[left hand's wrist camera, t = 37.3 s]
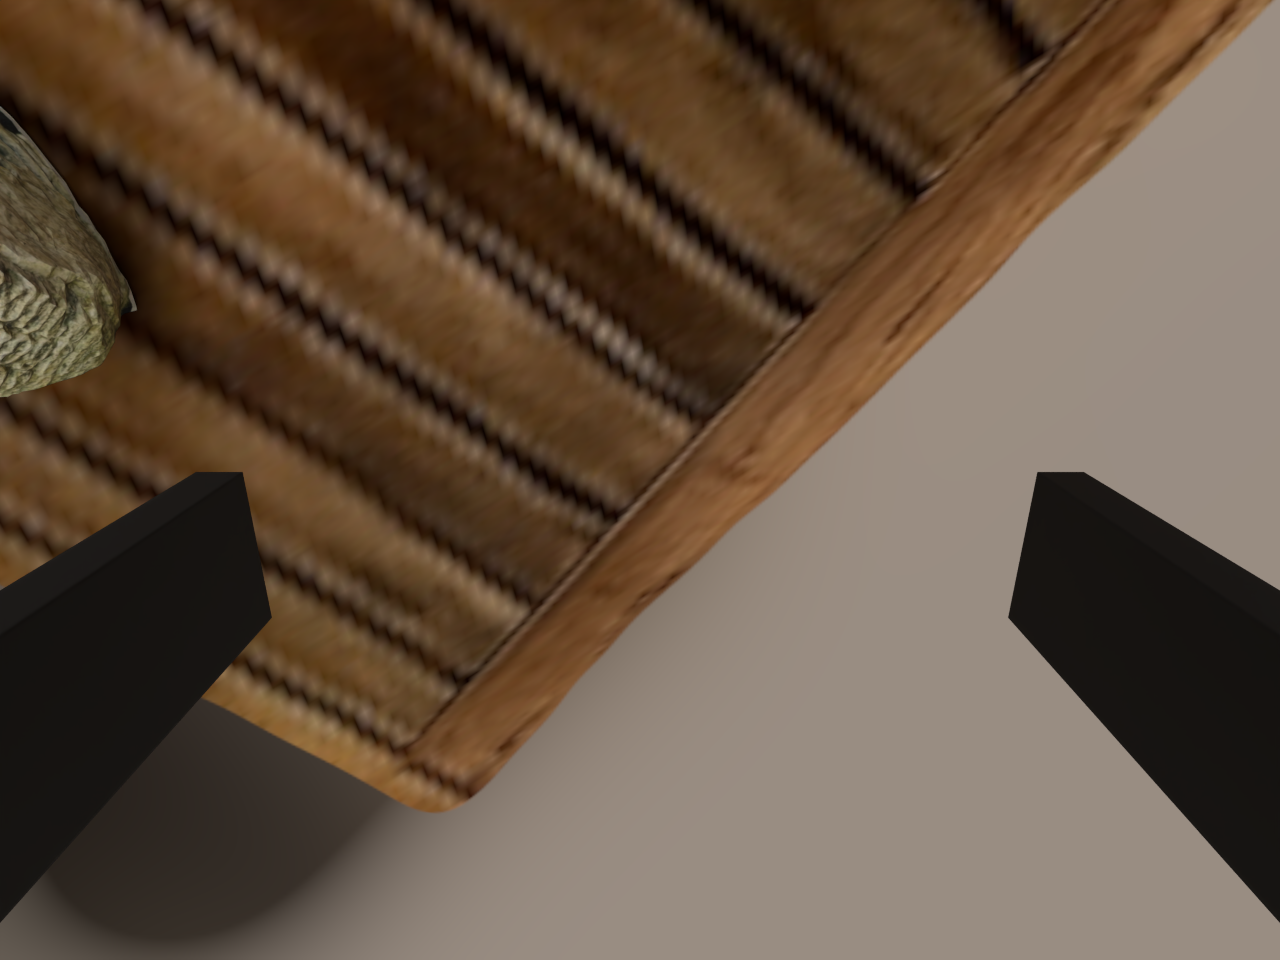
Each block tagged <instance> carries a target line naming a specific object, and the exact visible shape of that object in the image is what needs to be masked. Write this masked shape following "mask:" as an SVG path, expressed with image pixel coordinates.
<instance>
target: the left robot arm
mask: <svg viewBox="0 0 1280 960" xmlns="http://www.w3.org/2000/svg"><path fill="white" fill-rule="evenodd" d="M271 618H272V616H271V611H270V606H269V601H268V596H267V591H266V586H265V581H264V577H263V572H262V567H261V562H260V557H259V552H258V547H257V542H256V537H255V532H254V527H253V522H252V517H251V512H250V507H249V502H248V497H247V492H246V487H245V482H244V477H243V472H196V473H194V474H192V475H191V476H189V477H187V478H186V479H184V480H182V481H181V482H179V483H177V484H176V485H174V486H172V487H171V488H169V489H167V490H166V491H164V492H162V493H161V494H159V495H157V496H156V497H154V498H152V499H151V500H149V501H148V502H146V503H144V504H143V505H141V506H139V507H138V508H136V509H134V510H133V511H131V512H129V513H128V514H126V515H124V516H123V517H121V518H119V519H118V520H116V521H114V522H113V523H111V524H109V525H108V526H106V527H104V528H103V529H101V530H100V531H98V532H96V533H95V534H93V535H91V536H90V537H88V538H86V539H85V540H83V541H81V542H80V543H78V544H76V545H75V546H73V547H71V548H70V549H68V550H66V551H65V552H63V553H61V554H60V555H58V556H56V557H55V558H53V559H52V560H50V561H48V562H47V563H45V564H43V565H42V566H40V567H38V568H37V569H35V570H33V571H32V572H30V573H28V574H27V575H25V576H23V577H22V578H20V579H18V580H17V581H15V582H13V583H12V584H10V585H8V586H7V587H5V588H4V589H2V590H0V922H1V921H2V920H3V919H4V918H5V917H6V915H7V914H8V913H9V912H10V911H11V910H12V909H13V908H14V906H15V905H16V904H17V903H18V902H19V901H20V900H21V899H22V898H23V896H24V895H25V894H26V893H27V892H28V891H29V890H30V889H31V887H32V886H33V885H34V884H35V883H36V882H37V881H38V879H39V878H40V877H41V876H42V875H43V874H44V873H45V872H46V871H47V869H48V868H49V867H50V866H51V865H52V864H53V863H54V862H55V861H56V859H57V858H58V857H59V856H60V855H61V854H62V853H63V852H64V850H65V849H66V848H67V847H68V846H69V845H70V844H71V842H72V841H73V840H74V839H75V838H76V837H77V836H78V835H79V834H80V832H81V831H82V830H83V829H84V828H85V827H86V826H87V825H88V823H89V822H90V821H91V820H92V819H93V818H94V817H95V816H96V814H97V813H98V812H99V811H100V810H101V809H102V808H103V807H104V805H105V804H106V803H107V802H108V801H109V800H110V799H111V798H112V796H113V795H114V794H115V793H116V792H117V791H118V790H119V789H120V787H121V786H122V785H123V784H124V783H125V782H126V781H127V780H128V779H129V777H130V776H131V775H132V774H133V773H134V772H135V771H136V770H137V768H138V767H139V766H140V765H141V764H142V763H143V762H144V761H145V759H146V758H147V757H148V756H149V755H150V754H151V753H152V752H153V750H154V749H155V748H156V747H157V746H158V745H159V744H160V743H161V741H162V740H163V739H164V738H165V737H166V736H167V735H168V734H169V732H170V731H171V730H172V729H173V728H174V727H175V726H176V725H177V723H178V722H179V721H180V720H181V719H182V718H183V717H184V716H185V714H186V713H187V712H188V711H189V710H190V709H191V708H192V707H193V706H194V704H195V703H196V702H197V701H198V700H199V699H200V698H201V697H202V695H203V694H204V693H205V692H206V691H207V690H208V689H209V688H210V686H211V685H212V684H213V683H214V682H215V681H216V680H217V679H218V677H219V676H220V675H221V674H222V673H223V672H224V671H225V670H226V668H227V667H228V666H229V665H230V664H231V663H232V662H233V661H234V659H235V658H236V657H237V656H238V655H239V654H240V653H241V652H242V650H243V649H244V648H245V647H246V646H247V645H248V644H249V643H250V641H251V640H252V639H253V638H254V637H255V636H256V635H257V634H258V633H259V631H260V630H261V629H262V628H263V627H264V626H265V625H266V624H267V622H268V621H269V620H270V619H271ZM1008 618H1009V619H1010V620H1011V621H1012V622H1013V623H1014V625H1015V626H1016V627H1017V628H1018V629H1019V630H1020V631H1021V632H1022V634H1023V635H1024V636H1025V637H1026V638H1027V639H1028V640H1029V641H1030V643H1031V644H1032V645H1033V646H1034V647H1035V648H1036V649H1037V650H1038V652H1039V653H1040V654H1041V655H1042V656H1043V657H1044V658H1045V659H1046V661H1047V662H1048V663H1049V664H1050V665H1051V666H1052V667H1053V668H1054V670H1055V671H1056V672H1057V673H1058V674H1059V675H1060V676H1061V677H1062V679H1063V680H1064V681H1065V682H1066V683H1067V684H1068V685H1069V686H1070V688H1071V689H1072V690H1073V691H1074V692H1075V693H1076V694H1077V695H1078V696H1079V698H1080V699H1081V700H1082V701H1083V702H1084V703H1085V704H1086V706H1087V707H1088V708H1089V709H1090V710H1091V711H1092V712H1093V713H1094V714H1095V716H1096V717H1097V718H1098V719H1099V720H1100V721H1101V722H1102V723H1103V725H1104V726H1105V727H1106V728H1107V729H1108V730H1109V731H1110V732H1111V734H1112V735H1113V736H1114V737H1115V738H1116V739H1117V740H1118V741H1119V743H1120V744H1121V745H1122V746H1123V747H1124V748H1125V749H1126V750H1127V752H1128V753H1129V754H1130V755H1131V756H1132V757H1133V758H1134V759H1135V761H1136V762H1137V763H1138V764H1139V765H1140V766H1141V767H1142V768H1143V770H1144V771H1145V772H1146V773H1147V774H1148V775H1149V776H1150V777H1151V778H1152V780H1153V781H1154V782H1155V783H1156V784H1157V785H1158V786H1159V788H1160V789H1161V790H1162V791H1163V792H1164V793H1165V794H1166V795H1167V796H1168V798H1169V799H1170V800H1171V801H1172V802H1173V803H1174V804H1175V805H1176V807H1177V808H1178V809H1179V810H1180V811H1181V812H1182V813H1183V814H1184V816H1185V817H1186V818H1187V819H1188V820H1189V821H1190V822H1191V823H1192V825H1193V826H1194V827H1195V828H1196V829H1197V830H1198V831H1199V832H1200V834H1201V835H1202V836H1203V837H1204V838H1205V839H1206V840H1207V841H1208V843H1209V844H1210V845H1211V846H1212V847H1213V848H1214V849H1215V850H1216V852H1217V853H1218V854H1219V855H1220V856H1221V857H1222V858H1223V859H1224V861H1225V862H1226V863H1227V864H1228V865H1229V866H1230V867H1231V868H1232V869H1233V871H1234V872H1235V873H1236V874H1237V875H1238V876H1239V877H1240V878H1241V880H1242V881H1243V882H1244V883H1245V884H1246V885H1247V886H1248V887H1249V889H1250V890H1251V891H1252V892H1253V893H1254V894H1255V895H1256V896H1257V898H1258V899H1259V900H1260V901H1261V902H1262V903H1263V904H1264V905H1265V907H1266V908H1267V909H1268V910H1269V911H1270V912H1271V913H1272V914H1273V916H1274V917H1275V918H1276V919H1277V920H1278V921H1279V922H1280V590H1278V589H1276V588H1275V587H1273V586H1271V585H1270V584H1268V583H1267V582H1265V581H1263V580H1262V579H1260V578H1258V577H1257V576H1255V575H1253V574H1252V573H1250V572H1248V571H1247V570H1245V569H1243V568H1242V567H1240V566H1238V565H1237V564H1235V563H1233V562H1232V561H1230V560H1228V559H1227V558H1225V557H1223V556H1222V555H1220V554H1219V553H1217V552H1215V551H1214V550H1212V549H1210V548H1209V547H1207V546H1205V545H1204V544H1202V543H1200V542H1199V541H1197V540H1195V539H1194V538H1192V537H1190V536H1189V535H1187V534H1185V533H1184V532H1182V531H1180V530H1179V529H1177V528H1175V527H1174V526H1172V525H1171V524H1169V523H1167V522H1166V521H1164V520H1162V519H1161V518H1159V517H1157V516H1156V515H1154V514H1152V513H1151V512H1149V511H1147V510H1146V509H1144V508H1142V507H1141V506H1139V505H1137V504H1136V503H1134V502H1132V501H1131V500H1129V499H1127V498H1126V497H1124V496H1123V495H1121V494H1119V493H1117V492H1116V491H1114V490H1113V489H1111V488H1109V487H1108V486H1106V485H1104V484H1103V483H1101V482H1099V481H1098V480H1096V479H1094V478H1093V477H1091V476H1089V475H1088V474H1086V473H1084V472H1038V473H1037V477H1036V482H1035V487H1034V492H1033V497H1032V502H1031V507H1030V512H1029V517H1028V522H1027V527H1026V532H1025V537H1024V542H1023V547H1022V552H1021V557H1020V562H1019V567H1018V572H1017V577H1016V581H1015V587H1014V591H1013V596H1012V601H1011V606H1010V612H1009V616H1008Z"/></svg>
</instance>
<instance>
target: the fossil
mask: <svg viewBox="0 0 1280 960" xmlns="http://www.w3.org/2000/svg"><path fill="white" fill-rule="evenodd" d="M136 310H137V309H136V304H135V301H134V298H133V295H132V292H131V290H130V287H129V285H128V282H127V280H126V279H125V277H124V276H123V275H122V274H121V272H120V271H119V269H118V267H117V265H116V264H115V262H114V260H113V258H112V256H111V254H110V252H109V249H108V247H107V245H106V242H105V240H104V239H103V238H102V237H101V235H100V234H99V233H98V232H97V230H96V229H95V227H94V225H93V224H92V222H91V220H90V218H89V217H88V215H87V214H86V213H85V212H84V211H83V210H82V209H81V208H80V207H79V206H78V204H77V202H76V200H75V198H74V197H73V195H72V193H71V191H70V189H69V188H68V186H67V184H66V183H65V181H64V180H63V179H62V177H61V176H60V175H59V174H58V172H57V171H56V170H55V169H54V167H53V166H52V165H51V164H50V162H49V161H48V160H47V159H46V157H45V156H44V155H43V154H42V152H41V151H40V150H39V148H38V147H37V146H36V145H35V143H34V142H33V141H32V140H31V138H30V137H29V136H28V135H27V134H26V133H25V131H24V130H23V129H22V128H21V127H20V126H19V125H18V124H17V122H16V121H15V120H14V119H13V118H12V117H11V116H10V115H9V114H8V113H7V112H6V111H5V110H4V109H3V108H2V107H1V106H0V397H8V396H10V395H12V394H19V393H20V392H22V391H28V390H35V389H38V388H41V387H44V386H47V385H50V384H53V383H56V382H59V381H63V380H67V379H70V378H73V377H76V376H78V375H81V374H84V373H85V372H87V371H89V370H91V369H93V368H95V367H98V366H100V365H101V364H102V363H103V362H104V360H105V358H106V356H107V354H108V353H109V351H110V349H111V347H112V346H113V344H114V342H115V333H116V331H117V329H118V328H119V326H120V317H121V316H122V315H123V314H124V313H128V312H132V311H136Z"/></svg>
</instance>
